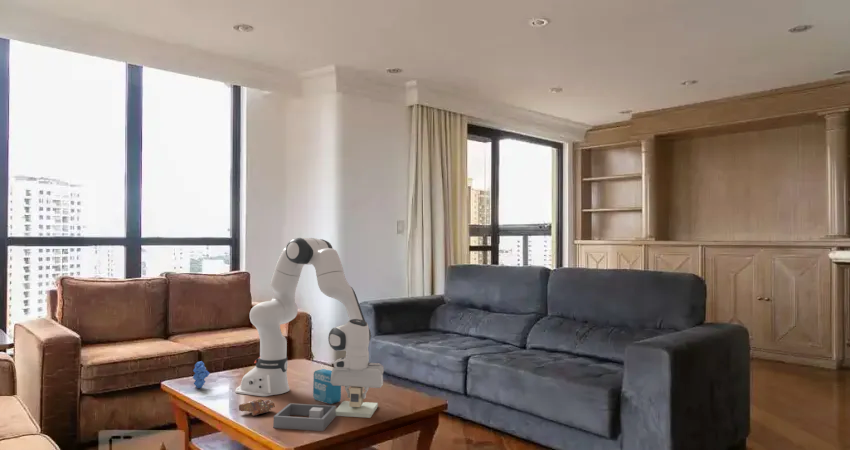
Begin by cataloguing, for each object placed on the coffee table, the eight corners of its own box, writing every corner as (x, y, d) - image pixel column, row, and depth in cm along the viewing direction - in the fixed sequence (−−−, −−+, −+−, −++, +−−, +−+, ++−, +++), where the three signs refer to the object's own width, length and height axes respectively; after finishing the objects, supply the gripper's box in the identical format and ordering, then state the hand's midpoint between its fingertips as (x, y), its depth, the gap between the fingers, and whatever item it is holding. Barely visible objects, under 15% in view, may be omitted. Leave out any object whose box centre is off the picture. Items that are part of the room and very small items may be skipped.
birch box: (353, 402, 228) (353, 384, 228) (363, 402, 228) (363, 384, 228) (349, 406, 222) (349, 388, 222) (359, 407, 222) (359, 389, 222)
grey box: (309, 424, 209) (309, 410, 209) (312, 420, 213) (312, 407, 213) (319, 425, 208) (320, 411, 208) (323, 421, 212) (323, 407, 212)
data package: (312, 399, 240) (313, 370, 240) (321, 396, 243) (321, 368, 244) (332, 405, 232) (333, 374, 232) (340, 402, 236) (341, 373, 236)
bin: (273, 427, 204) (273, 416, 204) (289, 413, 220) (289, 403, 220) (323, 431, 202) (323, 419, 202) (335, 416, 218) (335, 405, 218)
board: (333, 415, 219) (333, 411, 219) (343, 404, 233) (343, 400, 233) (370, 417, 217) (370, 413, 217) (377, 406, 231) (377, 402, 231)
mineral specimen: (248, 415, 212) (244, 397, 215) (240, 422, 217) (236, 404, 219) (278, 409, 220) (273, 391, 223) (269, 415, 225) (265, 398, 228)
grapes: (213, 390, 250) (214, 362, 250) (197, 392, 246) (198, 363, 246) (205, 384, 260) (206, 357, 260) (189, 386, 256) (190, 358, 256)
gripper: (385, 361, 227) (384, 397, 227) (334, 359, 230) (333, 394, 230) (382, 365, 221) (381, 401, 221) (329, 362, 223) (328, 398, 223)
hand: (356, 397), depth 225 cm, fingers closed on birch box, 4 cm apart
